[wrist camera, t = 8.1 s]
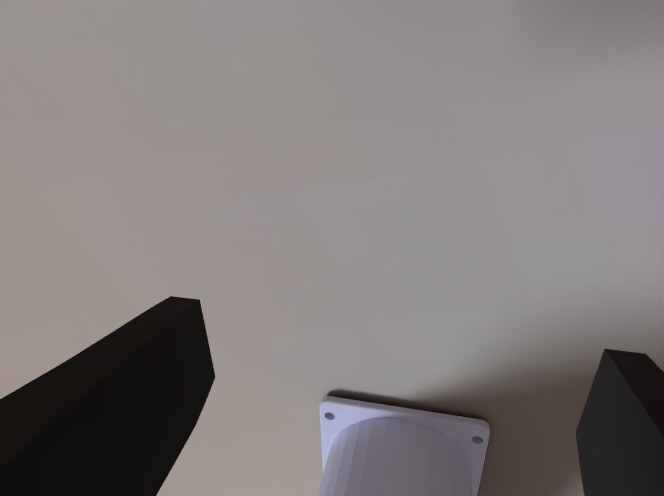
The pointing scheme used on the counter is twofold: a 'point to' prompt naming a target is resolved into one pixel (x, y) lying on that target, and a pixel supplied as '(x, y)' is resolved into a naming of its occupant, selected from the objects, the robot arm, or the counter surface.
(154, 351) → the robot arm
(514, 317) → the counter surface
